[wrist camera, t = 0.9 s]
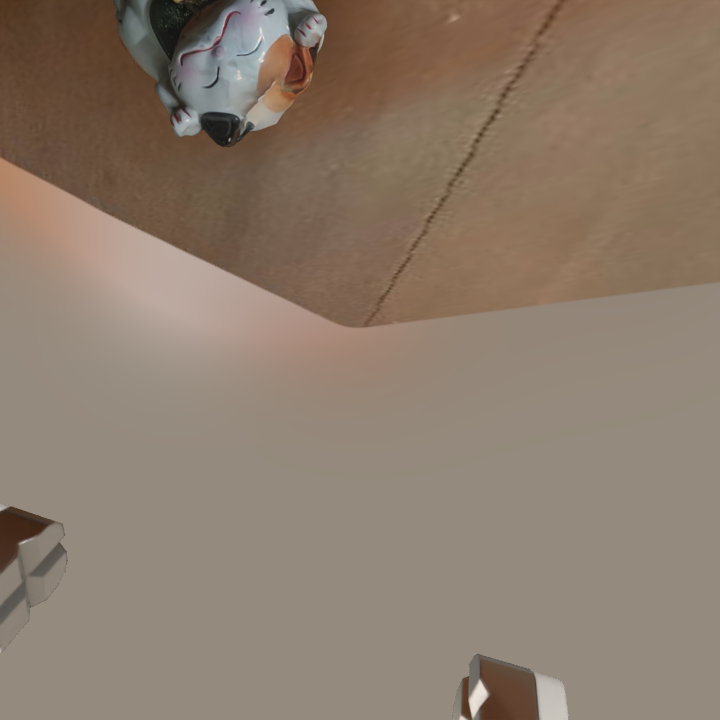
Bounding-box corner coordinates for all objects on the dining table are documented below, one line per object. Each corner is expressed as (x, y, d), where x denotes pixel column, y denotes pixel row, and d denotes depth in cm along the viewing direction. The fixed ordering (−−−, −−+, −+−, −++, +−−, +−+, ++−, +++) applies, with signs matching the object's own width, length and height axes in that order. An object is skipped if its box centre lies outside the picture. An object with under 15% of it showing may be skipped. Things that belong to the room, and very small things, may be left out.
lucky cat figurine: (251, -144, 37) (290, -65, 30) (323, 19, 47) (366, 108, 40) (80, -27, 40) (78, 71, 33) (183, 104, 50) (199, 201, 43)
